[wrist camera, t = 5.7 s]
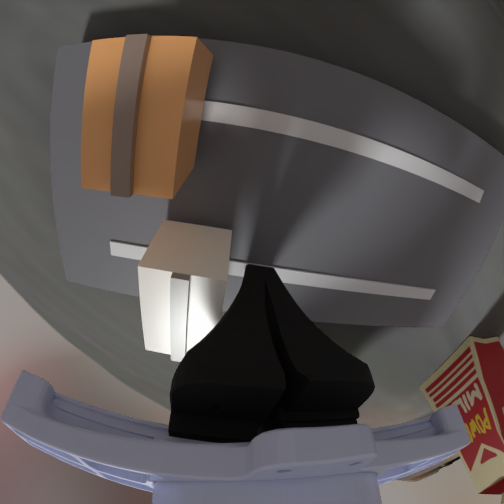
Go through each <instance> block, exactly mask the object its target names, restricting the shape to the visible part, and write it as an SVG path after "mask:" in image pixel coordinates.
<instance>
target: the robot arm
mask: <svg viewBox="0 0 504 504" xmlns="http://www.w3.org/2000/svg"><path fill="white" fill-rule="evenodd" d="M374 388H375V385H374V382H373V378H372V375H371V372H370V370H369V367H368V365H367V364H366V363H364V362H362V361H361V360H359V359H357V358H356V357H354V356H352V355H351V354H349V353H348V352H346V351H345V350H344V349H342V348H341V347H340V346H338V345H337V344H336V343H334V342H333V341H332V340H331V339H330V338H328V337H327V336H326V335H325V334H324V333H323V332H322V331H321V330H320V329H319V328H318V327H317V326H316V325H315V324H314V323H313V322H312V321H311V320H310V319H309V318H308V317H307V316H306V315H305V313H304V312H303V311H302V310H301V308H300V307H299V306H298V305H297V303H296V302H295V300H294V299H293V298H292V296H291V295H290V293H289V292H288V290H287V289H286V287H285V285H284V284H283V282H282V280H281V279H280V277H279V275H278V274H277V272H276V270H275V269H274V268H272V267H265V266H259V265H252V264H248V265H246V268H245V272H244V276H243V281H242V285H241V287H240V290H239V292H238V294H237V295H236V297H235V299H234V301H233V303H232V304H231V306H230V307H229V309H228V310H227V312H226V313H225V314H224V316H223V317H222V318H221V320H220V321H219V322H218V323H217V324H216V326H215V327H214V328H213V329H212V330H211V331H210V332H209V333H208V334H207V335H206V336H205V337H204V338H203V339H202V340H201V341H200V342H198V343H197V344H196V345H195V346H193V347H192V348H191V349H190V350H188V351H187V353H186V354H185V356H184V358H183V359H182V361H181V363H180V364H179V366H178V368H177V370H176V372H175V374H174V377H173V380H172V384H171V390H170V403H171V415H170V421H169V425H166V424H160V423H155V422H151V421H146V420H142V419H137V418H133V417H129V416H126V415H122V414H118V413H115V412H111V411H108V410H104V409H101V408H98V407H95V406H92V405H89V404H86V403H83V402H80V401H77V400H75V399H72V398H69V397H66V396H64V395H61V394H59V393H56V392H55V391H54V389H53V387H52V385H51V384H49V382H47V381H46V380H44V379H43V378H40V377H38V376H36V375H34V374H31V373H29V372H27V371H25V370H22V372H21V373H20V376H19V378H18V380H17V382H16V384H15V386H14V388H13V390H12V393H11V395H10V397H9V400H8V402H7V405H6V407H5V409H4V412H3V414H2V417H1V421H2V422H3V423H4V424H6V425H7V426H8V427H9V428H10V429H11V430H12V431H13V432H15V433H16V434H17V435H18V436H20V437H21V438H22V439H23V440H25V441H26V442H27V443H28V444H30V445H32V446H34V447H35V448H37V449H39V450H41V451H43V452H45V453H47V454H49V455H51V456H53V457H55V458H57V459H60V460H62V461H64V462H66V463H69V464H71V465H73V466H75V467H78V468H80V469H82V470H85V471H87V472H90V473H93V474H95V475H98V476H100V477H103V478H106V479H109V480H112V481H115V482H118V483H121V484H124V485H127V486H131V487H134V488H138V489H142V490H145V491H150V492H153V498H152V504H382V502H381V496H380V491H379V485H380V484H384V483H387V482H390V481H393V480H396V479H399V478H402V477H404V476H407V475H410V474H413V473H415V472H418V471H420V470H423V469H426V468H428V467H431V466H433V465H435V464H438V463H440V462H441V461H443V460H445V459H447V458H448V457H450V456H451V455H453V454H455V453H456V452H458V451H460V450H461V449H463V448H464V447H466V446H467V445H469V444H470V443H471V440H470V438H469V435H468V432H467V429H466V427H465V424H464V421H463V419H462V416H461V414H460V411H459V409H458V406H457V404H453V405H449V406H446V407H443V408H440V409H439V410H437V411H436V412H434V413H433V414H432V415H431V417H428V418H424V419H420V420H415V421H411V422H407V423H402V424H397V425H392V426H386V427H380V428H374V429H372V428H371V427H370V426H368V425H366V424H357V420H356V419H358V418H359V411H358V408H359V407H360V406H361V405H362V404H363V403H364V402H365V401H366V400H367V399H368V398H369V397H370V395H371V394H372V393H373V391H374Z"/></svg>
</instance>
